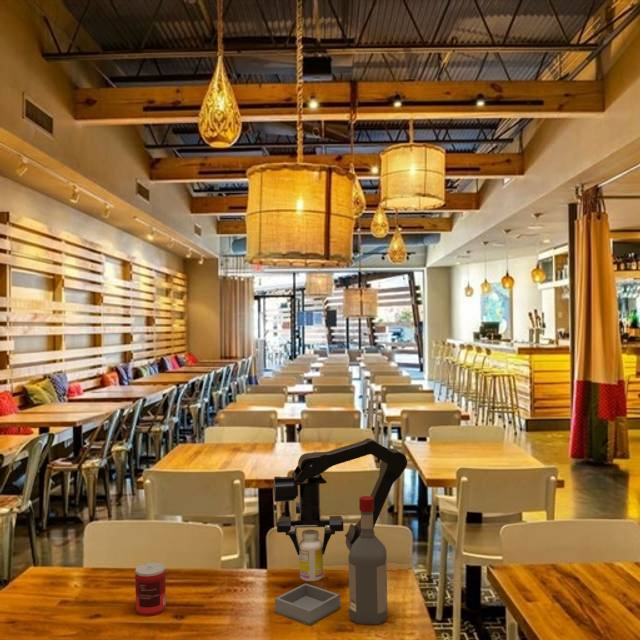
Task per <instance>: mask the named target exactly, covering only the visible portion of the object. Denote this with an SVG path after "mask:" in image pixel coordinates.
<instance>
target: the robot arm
mask: <svg viewBox="0 0 640 640" xmlns="http://www.w3.org/2000/svg"><path fill="white" fill-rule="evenodd" d="M370 455H371V456H373V457H375V458H377V459H378V460H380V463H379V473H378V478H377V480H376V483H375V484H374V486H373V489H372V491H371V493H370V496H371V497H373V498H374V511H373V530H374V529H375V526H376V523H377V521H378V520H379V516H380V514H381V513H382V509H383V507H384V505H385V503H386V501H387V498H388V496H389V494H390V491H391V489H392V487H393V485H394V484H395V482H396V481H397V480H398V479H399V478H400V477H401V476H402V474H403V473H404V471H405V469H406V468H407V466H408V459H407V456H406V455H405V454H404V453H403V452H401V451H399V450H398V449H396V448H393V447H391V448H387V447H385V446H384V445H382V444H380V443H378V442H377V441H375V440H374V439H372V438H365V439H363V440H361V441H360V440H359V441H358V442H354V443H351V444H347V445H344V446H341V447H338V448H335V449H331V450H329V451H328V450H327V451H314V452H312V451H311V452H305V453H304V454H301V455H300V457H299V458H298V461H297V466H296V467H295V469H294V470H293V472H292V473H291V475H290V476H274V477H273V486H272V495H273V502H274V503H279V502H280V503H281V502H292V501H293V502H294V501H295V499H297V498H298V497H299V502H298V501H296V502H295V514H297V515H299V518H300V519H299V520H297V519H296V520H293V519H292V516H280V517H279V518H278V519H277V521H276V532H277V533H285V536H289V538H290V540H291V541H292V543H293V546H294V548H295V551H296V554H297V556H299V543H300V542H299V536H298V528H324V529H323V539H322V540H323V541H322V552H323V555H325V553H326V549H327V546H328V544H329V543H328V542H329V541H330V539H331V536H332V535H335V534H336V532H344V530H345V529H344V528H345V527H344V517H343V516H342V515H329V516H328V519H321V496H320V495H321V494H320V485H321V484H323V485H324V484H327V480H326V479H325V478H324V477H323V476H322V474H323V473H325V472H326V471H327V470H328V469H330V468H331V467H333V466H334V467H335V466H337V465H340V464H344V463H346V462H351V461H352V460H356V459H359V458H362V457H365V456H370ZM358 520H359V521H358V522H356V524H353V523H350V525H349V526H348V527H349V528H348V530H347V533H345V535H344V537H345V545H346V548H347V550H348V551H349V552H350V550H351V547H352V545H353V543H354V542H355V541H356V540H357V538H358V537H359V536H360V533H361V518H360V519H358Z"/></svg>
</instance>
